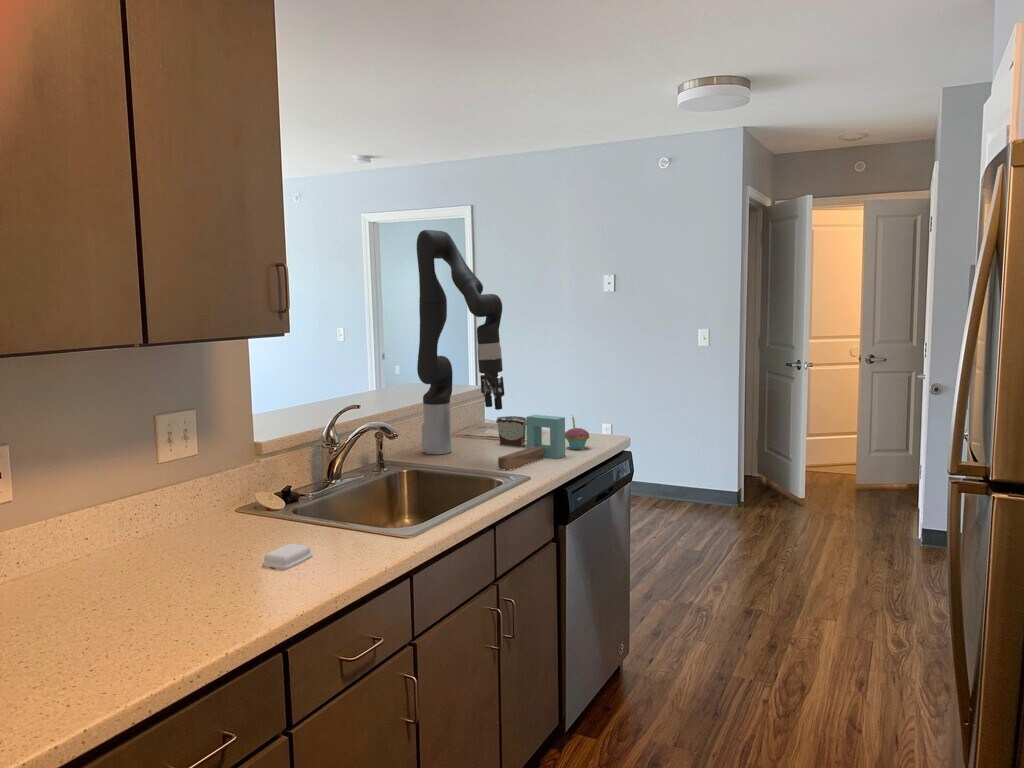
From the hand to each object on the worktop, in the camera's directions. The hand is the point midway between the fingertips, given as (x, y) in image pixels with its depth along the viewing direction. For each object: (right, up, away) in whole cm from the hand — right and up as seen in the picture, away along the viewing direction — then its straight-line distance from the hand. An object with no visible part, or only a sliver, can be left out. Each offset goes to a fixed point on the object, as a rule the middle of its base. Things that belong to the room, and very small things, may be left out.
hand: (493, 408), depth 239 cm
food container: (+7, -14, +31) cm, 35 cm away
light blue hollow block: (+17, -16, +12) cm, 27 cm away
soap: (-40, -29, -85) cm, 99 cm away
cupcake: (+29, -15, +23) cm, 40 cm away
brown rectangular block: (+9, -18, +1) cm, 20 cm away
